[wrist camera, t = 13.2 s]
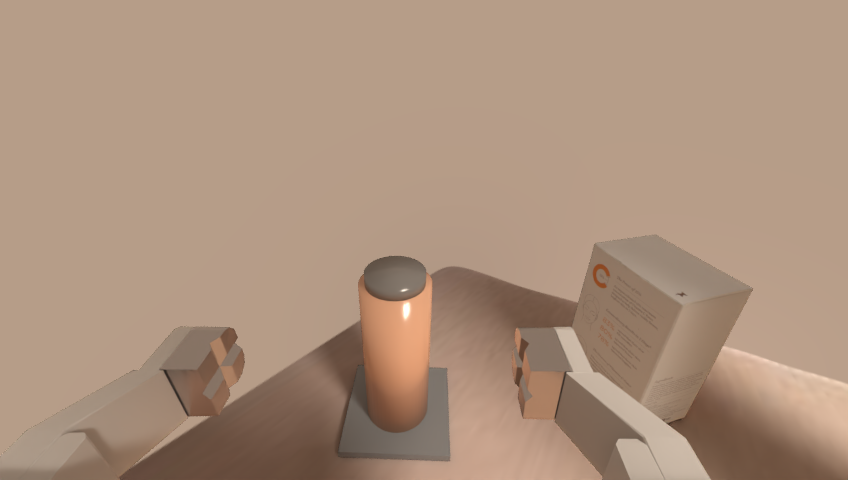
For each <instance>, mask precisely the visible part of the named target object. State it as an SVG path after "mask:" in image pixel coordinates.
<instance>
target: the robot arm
mask: <svg viewBox="0 0 848 480" xmlns="http://www.w3.org/2000/svg"><path fill="white" fill-rule="evenodd" d="M237 338H238V337H237V335H236V332H235V330H234V329H233V328H230V327H178V328H176V329H174V330H173V331H172V333H171V334H170V335H169V336H168V337H167V338H166V339H165V341H164V342H163V343H162V344H161V345H160V347H158V349H157V350H156V351H155V352H154V353H153V354H152V356H151V357H150V358H149V359H148V360H147V361H146V362H145V363H144V365H143V366H142V367H141V368H140V369H139V370H133V371H131V372H129V373H127V374H126V375H124V376H122V377H120V378H119V379H117V380H115V381H113V382H111V383H110V384H108V385H106V386H104V387H103V388H101V389H99V390H97V391H96V392H94V393H92V394H90V395H88V396H87V397H85V398H83V399H81V400H80V401H78V402H76V403H74V404H73V405H71V406H69V407H67V408H65V409H64V410H62V411H60V412H58V413H56V414H55V415H53V416H51V417H50V418H48V419H46V420H44V421H42V422H40V423H39V424H37V425H35V426H33V427H32V428H30V429H28V430H26V431H25V432H24V433H23V434H22V435H21V436H20V437H19V438H18V439H17V440H16V442H14V443H13V444H12V445H11V446H10V447H9V448H8V449H7V450H6V451H5V452H4V453H3V454H2V455H1V456H0V480H121V479H120V478H119V477H120V476H121V475H122V474H123V473H124V472H126V471H127V470H128V469H129V468H130V467H131V466H133V465H134V464H135V463H136V462H137V461H138V460H140V459H141V458H142V457H143V456H144V455H145V454H147V453H148V452H149V451H150V450H151V449H152V448H154V447H155V446H156V445H157V444H158V443H159V442H161V441H162V440H163V439H164V438H165V437H167V436H168V435H169V434H170V433H171V432H172V431H173V430H175V429H176V428H177V427H178V426H179V425H181V423H183V422H184V421H185V420H186V419H187V418H188V416H219V414H220V412H221V411H222V409H223V407H224V405H225V403H226V401H227V400H228V398H229V396H230V392H229V388H230V387H231V386H232V385H234V384H235V383H236V382H238V380H239V378H240V376H241V374H242V371H243V368H244V363H245V361H244V353H243V351H242V349H241V348H240V347H239V346H238V345H237V344H235V341H236V340H237ZM514 338H515V343H516V347H515V348H514V349H513V354H512V370H513V377H514V381H515V384H516V385H517V386H518V387H519V393H518V400H519V404H520V408H521V412H522V417H523V419H548V420H555V422H556V423H557V424H558V426H559V427H560V428H561V429H562V430H563V431H564V432H565V434H566V435H567V436H568V437H569V438H570V439H571V441H572V442H573V443H574V444H575V445H576V446H577V447H578V449H579V450H580V451H581V452H582V453H583V454H584V455H585V457H586V458H587V459H588V460H589V461H590V462H591V464H592V465H593V466H594V467H595V468H596V469H597V470H598V472H599V473H600V474H601V475H602V476H603V478H602V480H711V479H710V477H709V476H708V474H707V472H706V471H705V469H704V467H703V466H702V464H701V462H700V461H699V459H698V457H697V456H696V454H695V452H694V451H693V449H692V448H691V446H690V444H689V443H688V441H687V439H686V438H685V437H684V436H682V435H681V434H680V433H678V432H677V431H676V430H674V429H673V428H672V427H670V426H669V425H668V424H666V423H665V422H664V421H662V420H661V419H660V418H658V417H657V416H656V415H654V414H653V413H652V412H651V411H649V410H648V409H647V408H645V407H644V406H643V405H641V404H640V403H639V402H637V401H636V400H635V399H633V398H632V397H631V396H629V395H628V394H627V393H625V392H624V391H623V390H621V389H620V388H619V387H618V386H616V385H615V384H614V383H612V382H611V381H610V380H608V379H607V378H606V377H604V376H603V375H602V374H600V373H596V372H593V370H592V368H591V366H590V364H589V362H588V359H587V357H586V355H585V353H584V351H583V349H582V347H581V344H580V342H579V340H578V338H577V336H576V334H575V332H574V329H573V328H571V327H552V328H551V327H520V328H516V331H515V337H514Z"/></svg>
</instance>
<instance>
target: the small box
mask: <svg viewBox="0 0 848 480" xmlns="http://www.w3.org/2000/svg"><path fill="white" fill-rule="evenodd" d="M752 290H753V288H752V287H750V286H748V285H746V284H744V283H742V282H740V281H739V280H737V279H735V278H733V277H731V276H729V275H728V274H726V273H724V272H722V271H720V270H719V269H717V268H715V267H713V266H711V265H710V264H708V263H706V262H704V261H702V260H701V259H699V258H697V257H695V256H693V255H691V254H690V253H688V252H686V251H684V250H682V249H681V248H679V247H677V246H675V245H674V244H672V243H670V242H668V241H666V240H665V239H663V238H661V237H659V236H657V235H649V236H642V237H635V238H628V239H621V240H613V241H607V242H599V243H595V244H594V248H593V252H592V256H591V259H590V263H589V267H588V270H587V273H586V277H585V281H584V284H583V288H582V291H581V295H580V298H579V302H578V306H577V309H576V313H575V316H574V320H573V323H572V327H571V328H573V329H574V332H575V334H576V336H577V338H578V340H579V342H580V344H581V347H582V349H583V351H584V353H585V355H586V357H587V359H588V362H589V364H590V366H591V368H592V370H593V372H596V373H600V374H602V375H603V376H604V377H606V378H607V379H608V380H610V381H611V382H612V383H614V384H615V385H616V386H618V387H619V388H620V389H621V390H623V391H624V392H625V393H627V394H628V395H629V396H631V397H632V398H633V399H635V400H636V401H637V402H639V403H640V404H641V405H643V406H644V407H645V408H647V409H648V410H649V411H651V412H652V413H653V414H654V415H656V416H657V417H658V418H660V419H661V420H662V421H664V422H665V423H669V422H672V421H675V420H678V419H681V418H684V417H685V416H686V414H687V412H688V411H689V409H690V407H691V405H692V403H693V401H694V399H695V397H696V396H697V394H698V392H699V390H700V388H701V386H702V385H703V383H704V381H705V379H706V377H707V375H708V374H709V372H710V370H711V368H712V366H713V364H714V362H715V360H716V358H717V356H718V354H719V352H720V351H721V349H722V347H723V345H724V343H725V341H726V339H727V337H728V336H729V334H730V332H731V330H732V328H733V326H734V324H735V322H736V321H737V319H738V317H739V315H740V313H741V311H742V309H743V307H744V305H745V304H746V302H747V300H748V298H749V296H750V294H751V292H752Z"/></svg>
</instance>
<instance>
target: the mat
mask: <svg viewBox="0 0 848 480" xmlns="http://www.w3.org/2000/svg"><path fill="white" fill-rule="evenodd" d="M338 456H339V457H357V458H382V459H406V460H431V461H450V440H449V411H448V382H447V368H429V382H428V407H427V412H426V415H425V417H424V419H423V420H422V421H421V423H420V424H419V425H417V426H416V427H415V428H413V429H411V430H409V431H406V432H401V433H392V432H387V431H384V430H382V429H380V428H378V427H377V426H376V425H375V424H374V423H373V422H372V421H371V419H370V417H369V414H368V407H367V394H366V381H365V368H364V365H358V368H357V372H356V376H355V380H354V385H353V389H352V393H351V398H350V402H349V406H348V410H347V415H346V419H345V423H344V428H343V432H342V436H341V440H340V445H339V449H338Z"/></svg>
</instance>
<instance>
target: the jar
mask: <svg viewBox="0 0 848 480" xmlns="http://www.w3.org/2000/svg"><path fill="white" fill-rule="evenodd" d="M358 288H359V303H360V315H361V329H362V342H363V355H364V368H365V381H366V394H367V407H368V414H369V417H370V419H371V421H372V422H373V423H374V424H375V425H376V426H377V427H378V428H380V429H382V430H384V431H387V432H392V433H401V432H406V431H409V430H411V429H413V428H415V427H416V426H417V425H419V424H420V423H421V421H422V420H423V419H424V417H425V415H426V412H427V407H428V382H429V356H430V330H431V304H432V279H431V277H430V275H429V274H428V273H427V272H426V269H425V267H424V266H423V264H421V263H420V262H418V261H417V260H415V259H412V258H409V257H404V256H389V257H384V258H380V259H377V260H375V261H373V262H371V263H370V264H369V265H368V266H367V267H366V268H365V270H364V274H363V275H362V276H361V278H360V280H359V282H358Z"/></svg>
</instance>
